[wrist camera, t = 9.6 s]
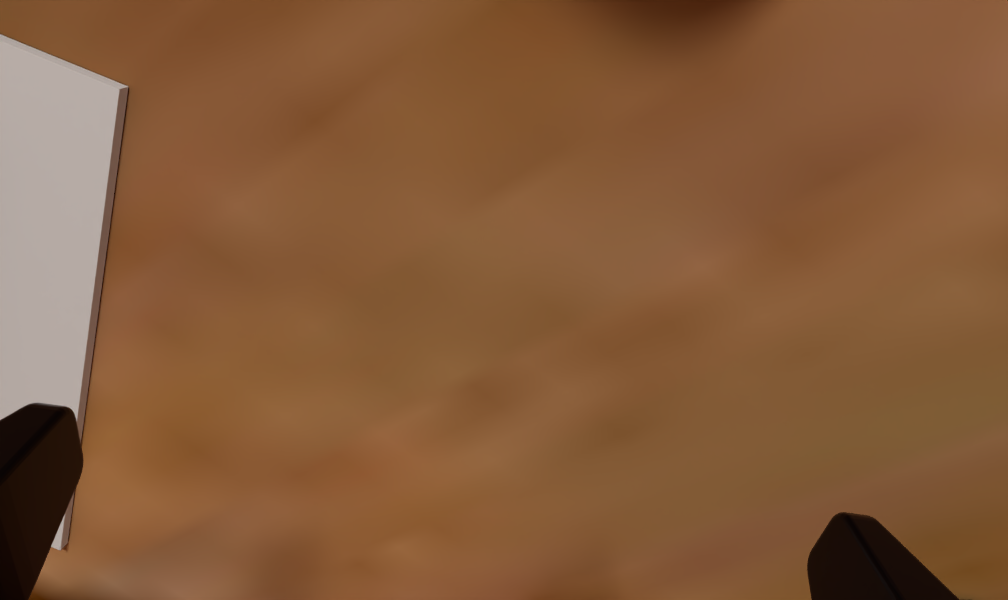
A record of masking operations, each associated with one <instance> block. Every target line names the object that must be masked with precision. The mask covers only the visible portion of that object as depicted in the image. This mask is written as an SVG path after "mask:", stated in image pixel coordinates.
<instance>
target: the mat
mask: <svg viewBox="0 0 1008 600" xmlns="http://www.w3.org/2000/svg"><path fill="white" fill-rule="evenodd" d="M127 94H128V86H125V85H123V84H121V83H118V82H116V81H113V80H111V79H108V78H106V77H103V76H101V75H98V74H96V73H94V72H91V71H89V70H86V69H84V68H81V67H79V66H76V65H74V64H72V63H69V62H67V61H64V60H62V59H59V58H57V57H54V56H52V55H49V54H47V53H45V52H42V51H40V50H37V49H35V48H32V47H30V46H27V45H25V44H23V43H20V42H18V41H15V40H13V39H10V38H8V37H5V36H3V35H0V420H1V419H3V418H5V417H6V416H8V415H10V414H11V413H13V412H15V411H17V410H18V409H20V408H22V407H24V406H26V405H28V404H31V403H46V404H53V405H60V406H66V407H69V408H71V409H72V411H73V412H74V414H75V417H76V421H77V427H78V432H79V437H80V442H81V439H82V431H83V424H84V416H85V409H86V401H87V394H88V386H89V379H90V371H91V364H92V356H93V349H94V341H95V334H96V326H97V319H98V311H99V304H100V296H101V289H102V281H103V274H104V266H105V259H106V251H107V244H108V236H109V229H110V221H111V214H112V206H113V199H114V191H115V184H116V176H117V169H118V162H119V154H120V147H121V139H122V132H123V124H124V117H125V109H126V102H127ZM73 499H74V493H73V496H72V498H71V501H70V503H69V505H68V508H67V510H66V512H65V515H64V517H63V520H62V522H61V524H60V527H59V529H58V531H57V534H56V536H55V539H54V541H53V543H52V546H51V547H53V548H56V549H58V550H61V549H62V548H63V547H64V546H65V545H66V544H67V543H68V536H69V528H70V521H71V513H72V506H73Z"/></svg>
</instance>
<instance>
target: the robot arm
mask: <svg viewBox="0 0 1008 600" xmlns="http://www.w3.org/2000/svg"><path fill="white" fill-rule="evenodd" d="M82 468H83V453H82V448H81V442H80V437H79V432H78V427H77V421H76V417H75V414H74V412H73V411H72V409H71V408H69V407H66V406H60V405H53V404H46V403H31V404H28V405H26V406H24V407H22V408H20V409H18V410H17V411H15V412H13V413H11V414H10V415H8V416H6V417H5V418H3V419H1V420H0V600H28V599H29V597H30V595H31V592H32V590H33V588H34V586H35V584H36V581H37V579H38V576H39V574H40V572H41V569H42V567H43V565H44V562H45V560H46V558H47V555H48V553H49V550H50V548H51V546H52V543H53V541H54V539H55V536H56V534H57V531H58V529H59V527H60V524H61V522H62V520H63V517H64V515H65V512H66V510H67V508H68V505H69V503H70V501H71V498H72V496H73V493H74V491H75V489H76V486H77V484H78V482H79V479H80V476H81V473H82ZM807 571H808V579H809V585H810V592H811V598H812V600H959V599H958V598H957V597H956V596H955V595H954V594H953V593H952V592H951V591H950V590H949V589H948V588H947V587H946V586H945V585H944V584H943V583H942V582H941V581H940V580H939V579H938V578H936V577H935V576H934V575H933V574H932V573H931V572H930V571H929V570H928V569H927V568H926V567H925V566H924V565H923V564H922V563H921V562H920V561H919V560H918V559H917V558H916V557H915V556H914V555H913V554H912V553H911V552H909V551H908V550H907V549H906V548H905V547H904V546H903V545H902V544H901V543H900V542H899V541H898V540H897V539H896V538H895V537H894V536H893V535H892V534H891V533H890V532H889V531H888V530H887V529H886V528H885V527H884V526H882V525H881V524H880V523H879V522H878V521H877V520H876V519H874V518H873V517H870V516H867V515H860V514H853V513H846V512H841V513H838V514H836V515H835V516H834V517H833V518H832V519H831V521H830V522H829V524H828V525H827V527H826V528H825V530H824V531H823V533H822V534H821V536H820V538H819V539H818V541H817V542H816V544H815V545H814V547H813V548H812V550H811V552H810V555H809V558H808V564H807Z"/></svg>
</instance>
